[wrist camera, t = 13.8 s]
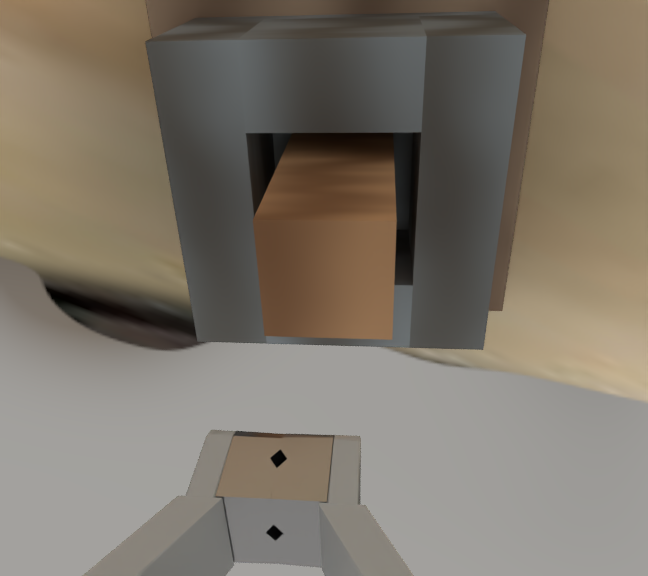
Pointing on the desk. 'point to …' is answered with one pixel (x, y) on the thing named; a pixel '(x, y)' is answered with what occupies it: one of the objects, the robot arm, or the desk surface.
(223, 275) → the hole block
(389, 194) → the peg
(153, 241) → the desk surface
